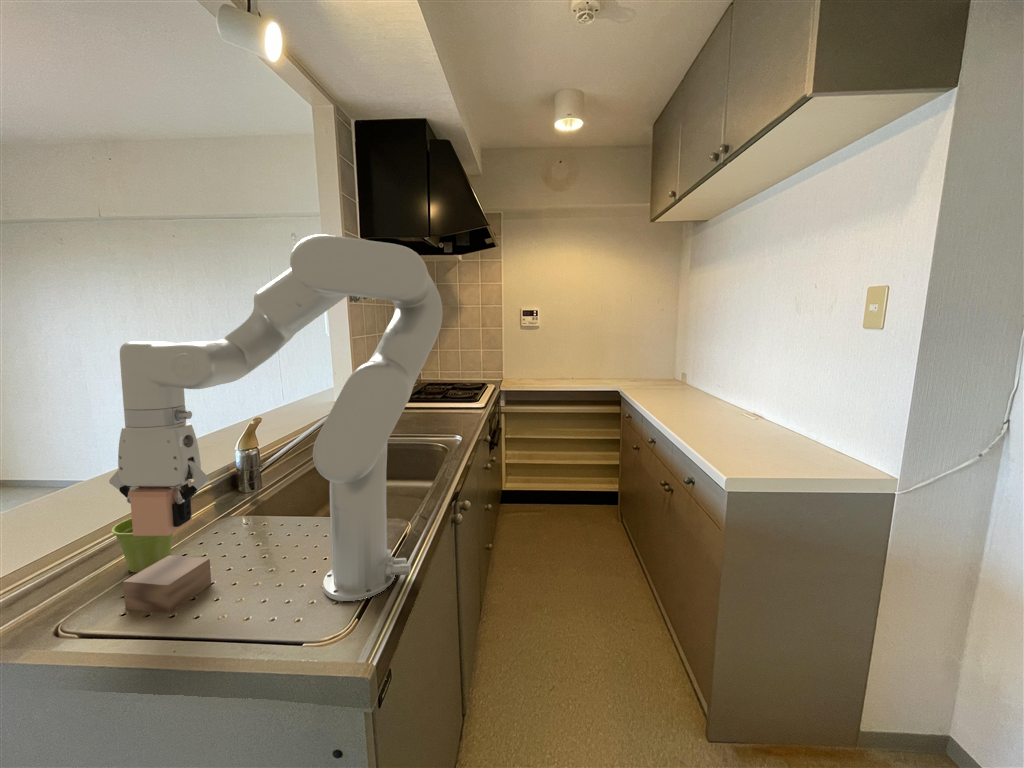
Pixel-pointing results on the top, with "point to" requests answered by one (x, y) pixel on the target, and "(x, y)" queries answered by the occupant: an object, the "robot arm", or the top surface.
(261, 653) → the top surface
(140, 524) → the peach lipped block
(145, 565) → the plant pot
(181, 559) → the walnut box
